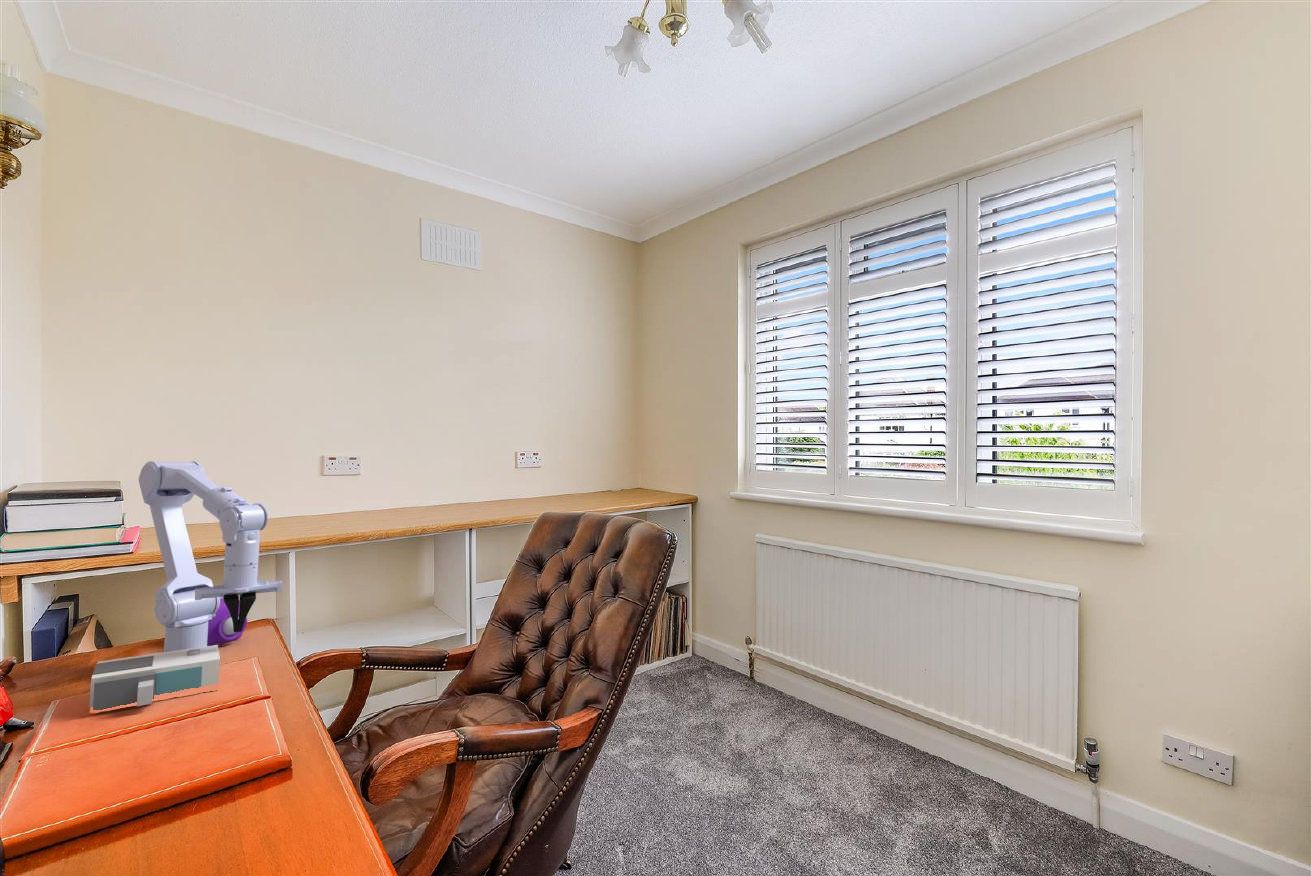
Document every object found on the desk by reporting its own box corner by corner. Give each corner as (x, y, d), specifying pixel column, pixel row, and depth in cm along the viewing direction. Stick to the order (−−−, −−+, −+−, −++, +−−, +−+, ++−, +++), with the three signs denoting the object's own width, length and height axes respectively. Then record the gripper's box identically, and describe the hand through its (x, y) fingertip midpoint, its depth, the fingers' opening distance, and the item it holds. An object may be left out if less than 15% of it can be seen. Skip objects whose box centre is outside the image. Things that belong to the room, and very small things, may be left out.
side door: (93, 711, 102) (95, 681, 102) (154, 700, 107) (155, 671, 107) (90, 720, 99) (92, 689, 99) (153, 709, 104) (154, 679, 104)
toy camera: (219, 652, 134) (222, 608, 134) (170, 646, 136) (173, 602, 137) (260, 638, 144) (262, 597, 145) (214, 632, 147) (216, 592, 147)
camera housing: (95, 694, 110) (98, 658, 110) (216, 674, 121) (217, 641, 121) (88, 714, 102) (91, 675, 102) (218, 690, 113) (220, 656, 113)
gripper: (196, 570, 113) (192, 642, 112) (285, 563, 122) (282, 630, 121) (196, 564, 118) (192, 632, 118) (281, 558, 127) (277, 621, 127)
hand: (237, 630), depth 120 cm, fingers closed
